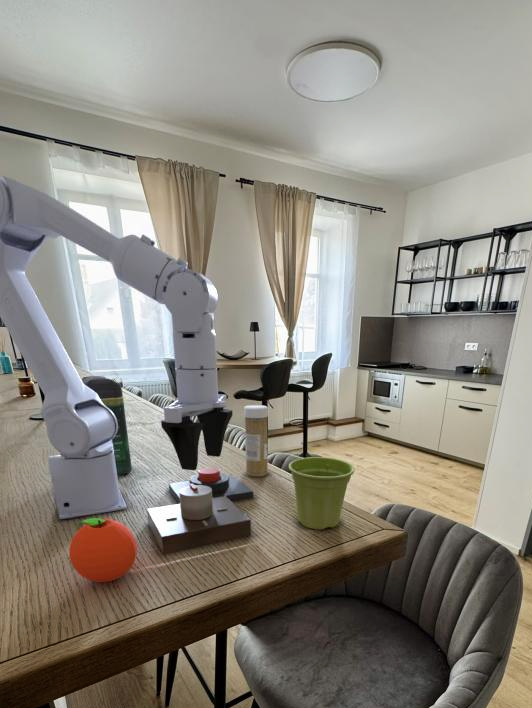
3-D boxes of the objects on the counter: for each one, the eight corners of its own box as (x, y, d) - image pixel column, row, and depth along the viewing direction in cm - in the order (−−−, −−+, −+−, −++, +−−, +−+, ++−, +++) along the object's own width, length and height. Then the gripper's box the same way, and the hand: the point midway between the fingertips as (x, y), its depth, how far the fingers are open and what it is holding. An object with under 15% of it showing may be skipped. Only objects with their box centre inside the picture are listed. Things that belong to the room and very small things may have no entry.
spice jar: (272, 474, 83) (272, 406, 78) (255, 479, 80) (254, 409, 75) (257, 469, 86) (257, 403, 81) (240, 473, 83) (238, 406, 78)
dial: (217, 516, 57) (216, 490, 55) (186, 522, 55) (183, 495, 53) (207, 505, 60) (206, 481, 59) (177, 510, 58) (175, 485, 57)
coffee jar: (137, 475, 81) (124, 377, 74) (94, 481, 77) (77, 379, 70) (125, 462, 89) (113, 373, 82) (86, 468, 85) (70, 374, 78)
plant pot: (355, 514, 64) (359, 460, 61) (343, 540, 56) (348, 479, 53) (298, 506, 67) (299, 454, 64) (278, 529, 59) (279, 471, 56)
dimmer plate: (163, 554, 52) (161, 535, 51) (148, 524, 60) (146, 507, 59) (251, 536, 57) (250, 518, 56) (226, 510, 65) (225, 494, 64)
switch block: (183, 510, 65) (182, 492, 64) (169, 490, 73) (167, 474, 72) (253, 498, 70) (253, 481, 69) (232, 481, 78) (231, 466, 77)
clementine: (56, 579, 46) (43, 522, 44) (108, 554, 52) (100, 501, 49) (101, 602, 42) (90, 540, 40) (153, 572, 48) (146, 516, 45)
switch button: (202, 484, 68) (201, 474, 68) (196, 478, 71) (195, 468, 71) (223, 481, 70) (222, 472, 69) (216, 475, 73) (215, 466, 72)
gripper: (195, 373, 50) (202, 479, 55) (243, 366, 63) (245, 452, 68) (146, 371, 52) (156, 473, 57) (202, 364, 65) (207, 448, 70)
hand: (202, 462), depth 62 cm, fingers open, 7 cm apart
